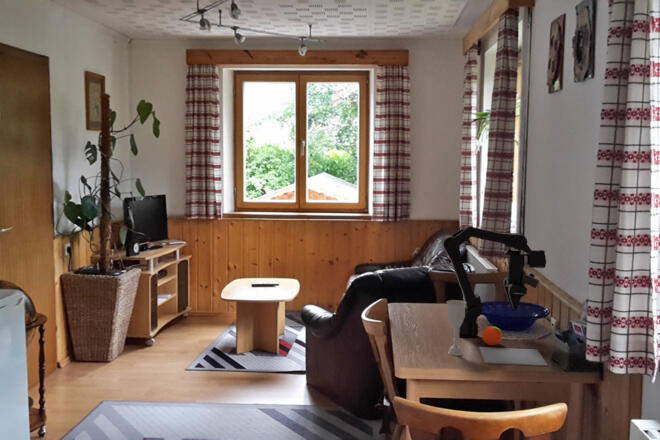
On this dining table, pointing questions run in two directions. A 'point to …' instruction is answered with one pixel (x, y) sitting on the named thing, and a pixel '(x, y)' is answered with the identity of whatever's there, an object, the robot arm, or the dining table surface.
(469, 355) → the dining table surface
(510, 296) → the robot arm
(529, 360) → the mat
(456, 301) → the chalice
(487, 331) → the clementine
